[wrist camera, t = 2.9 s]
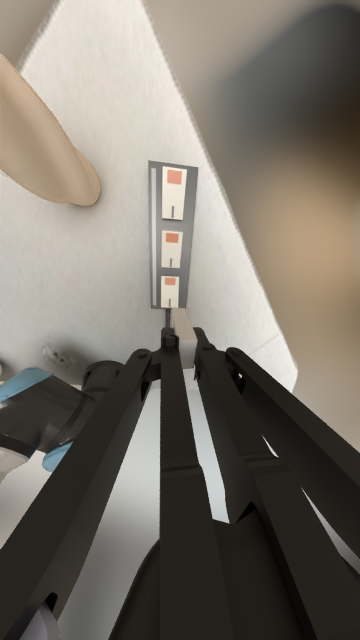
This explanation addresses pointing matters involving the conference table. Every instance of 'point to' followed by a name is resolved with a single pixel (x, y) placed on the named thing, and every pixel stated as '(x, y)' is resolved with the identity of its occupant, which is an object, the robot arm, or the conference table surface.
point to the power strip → (171, 224)
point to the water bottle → (40, 146)
